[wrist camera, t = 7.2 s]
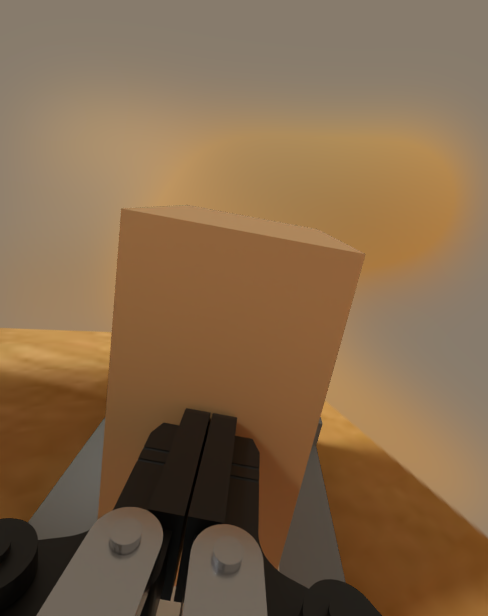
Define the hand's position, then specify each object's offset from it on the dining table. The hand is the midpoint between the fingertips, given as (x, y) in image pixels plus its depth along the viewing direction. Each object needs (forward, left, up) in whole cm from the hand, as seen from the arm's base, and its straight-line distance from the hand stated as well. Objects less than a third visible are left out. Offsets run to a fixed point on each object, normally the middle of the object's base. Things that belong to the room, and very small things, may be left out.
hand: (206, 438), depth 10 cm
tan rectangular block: (-2, +3, -6) cm, 7 cm away
